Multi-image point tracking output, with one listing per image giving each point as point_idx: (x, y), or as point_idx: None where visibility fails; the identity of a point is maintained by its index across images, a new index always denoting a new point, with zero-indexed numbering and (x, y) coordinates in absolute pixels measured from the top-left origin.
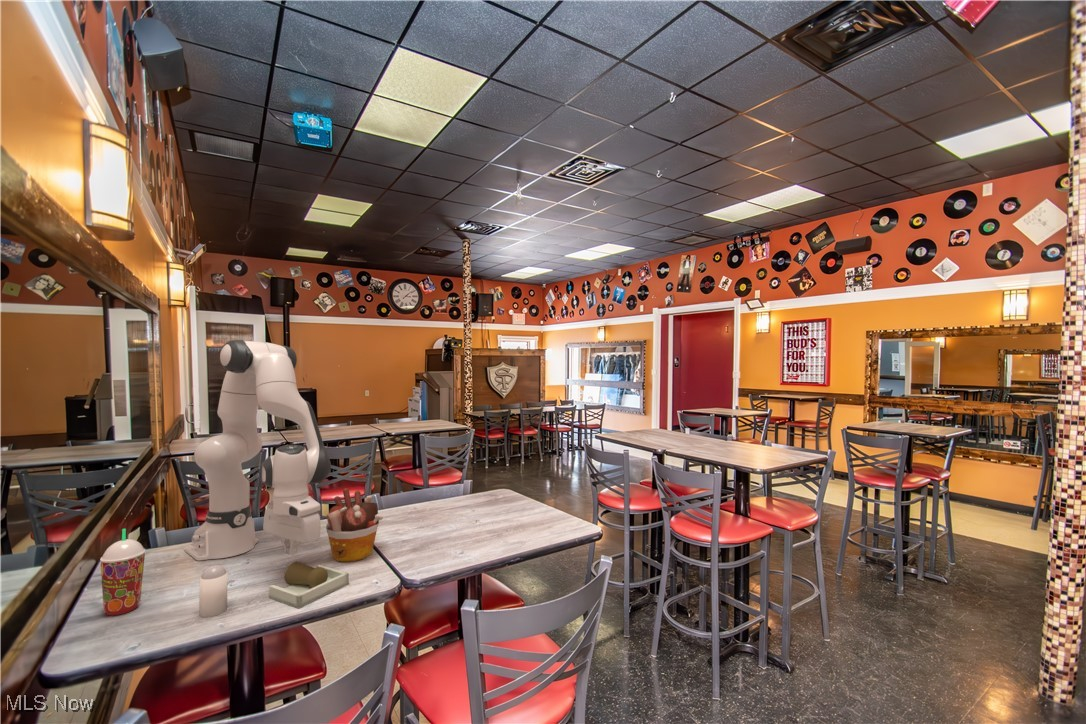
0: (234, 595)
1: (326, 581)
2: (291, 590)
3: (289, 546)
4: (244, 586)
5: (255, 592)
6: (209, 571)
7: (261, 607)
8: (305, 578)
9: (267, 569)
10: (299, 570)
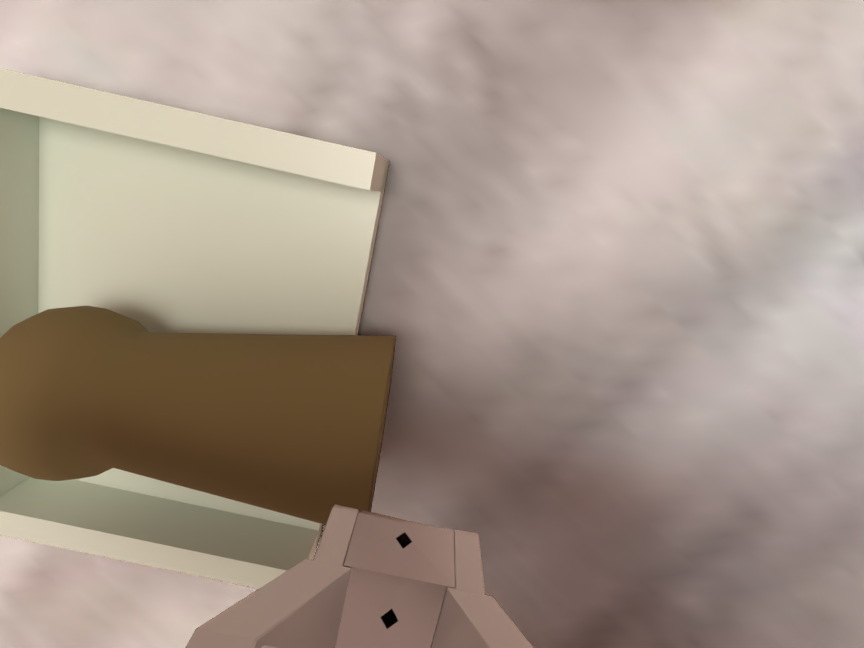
0: (703, 119)
1: None
2: (276, 269)
3: (430, 636)
4: (743, 269)
5: (571, 208)
6: None
7: (315, 11)
8: (146, 339)
9: (779, 535)
10: (221, 387)
